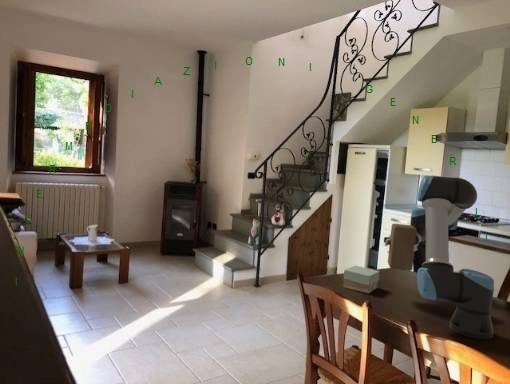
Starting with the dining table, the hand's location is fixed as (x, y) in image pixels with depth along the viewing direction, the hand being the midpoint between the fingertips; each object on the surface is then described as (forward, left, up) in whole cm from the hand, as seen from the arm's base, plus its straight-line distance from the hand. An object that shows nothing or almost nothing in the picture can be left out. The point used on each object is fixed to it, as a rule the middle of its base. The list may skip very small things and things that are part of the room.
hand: (399, 245), depth 191 cm
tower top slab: (+4, +18, -21) cm, 28 cm away
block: (+3, 0, -11) cm, 12 cm away
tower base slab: (+4, +18, -26) cm, 32 cm away
